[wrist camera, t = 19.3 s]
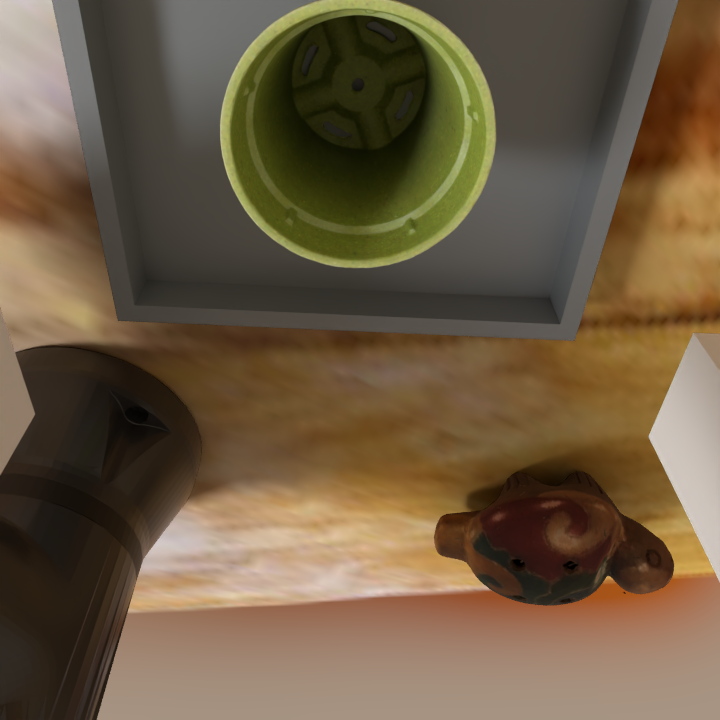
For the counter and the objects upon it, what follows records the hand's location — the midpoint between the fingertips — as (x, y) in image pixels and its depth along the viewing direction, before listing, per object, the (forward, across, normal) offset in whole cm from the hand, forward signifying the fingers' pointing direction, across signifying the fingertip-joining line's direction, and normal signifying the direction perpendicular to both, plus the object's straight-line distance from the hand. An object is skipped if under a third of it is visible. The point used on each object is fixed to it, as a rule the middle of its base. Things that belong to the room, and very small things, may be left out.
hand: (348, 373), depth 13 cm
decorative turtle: (+22, -14, +28) cm, 39 cm away
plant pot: (+21, 0, 0) cm, 21 cm away
